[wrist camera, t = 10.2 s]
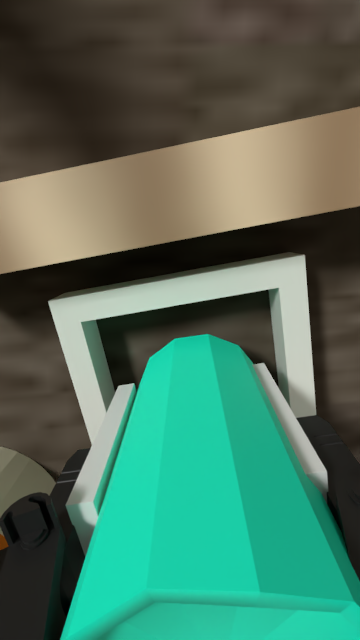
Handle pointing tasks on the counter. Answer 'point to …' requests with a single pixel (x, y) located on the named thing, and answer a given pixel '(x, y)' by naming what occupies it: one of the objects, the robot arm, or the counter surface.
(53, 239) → the edge strip
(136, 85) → the counter surface
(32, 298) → the counter surface
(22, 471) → the reusable coffee cup
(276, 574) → the candle
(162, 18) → the counter surface
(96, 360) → the frame
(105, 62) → the counter surface
